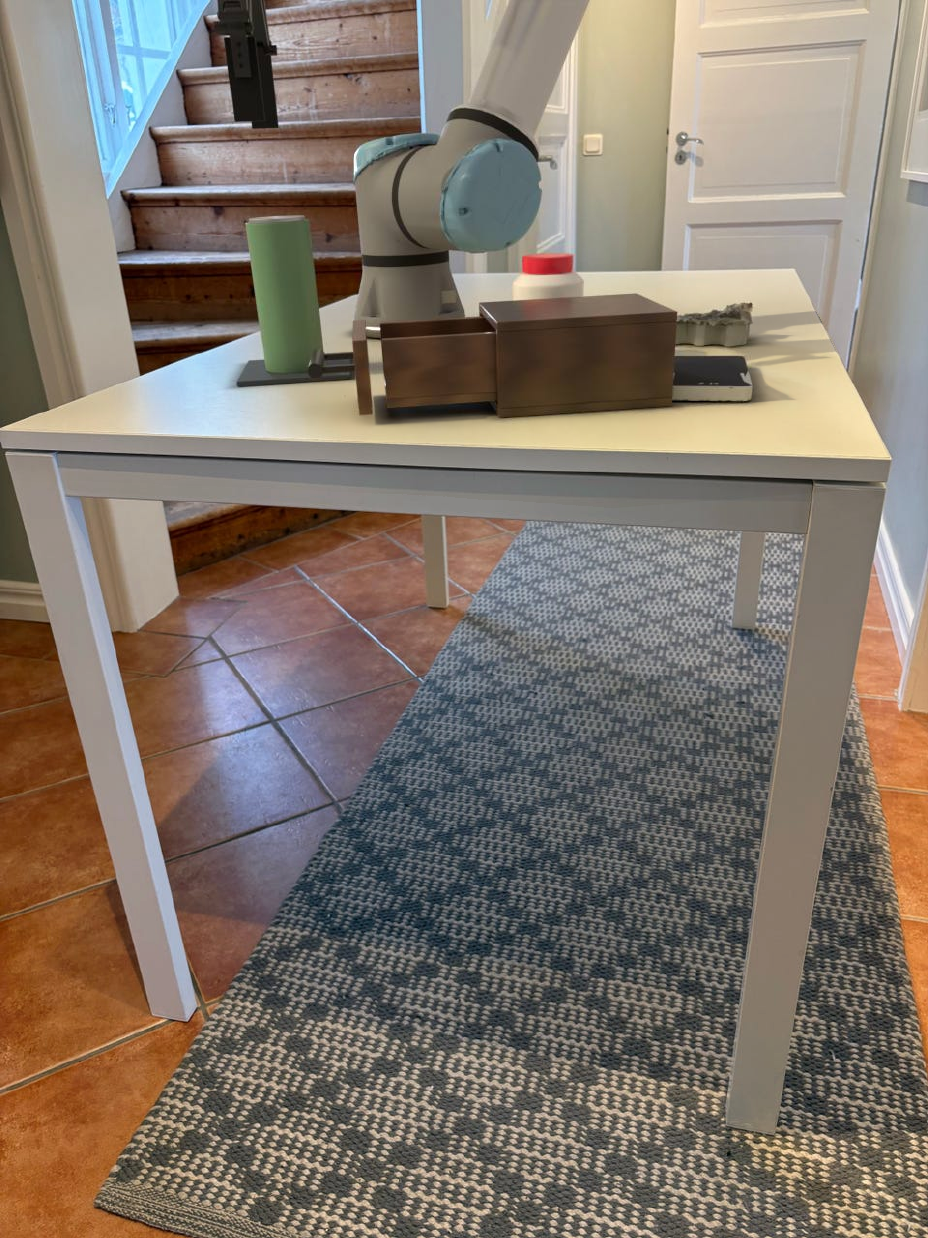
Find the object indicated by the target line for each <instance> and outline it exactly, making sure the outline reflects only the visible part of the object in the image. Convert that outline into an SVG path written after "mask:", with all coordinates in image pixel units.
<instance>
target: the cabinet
mask: <svg viewBox="0 0 928 1238" xmlns="http://www.w3.org/2000/svg"><path fill="white" fill-rule="evenodd" d="M479 316H484V317H485V318H486V319H487V320H488V322H489V323H490V324H491V325H492V326H493V327H494V329H495V330H496V363H497V401H489V403H490V404H491V406H492V408H493V410H494V412H495V413H496V415H497V417H498V418H499V419H502V418H517V417H529V416H544V415H547V416H548V415H560V414H561V415H562V414H575V413H591V412H604V411H619V410H633V409H649V408H650V409H651V408H662V407H664V408H665V407H672V405H673V400H672V391H673V375H674V359H675V356H676V345H677V344H676V328H677V316H678V311H677V310H674V309H672V308H670V307H668V306H665V305H663V304H661V303H659V302H657V301H655V300H652V299H650V298H648V297H646V296H643V295H641V294H639V293H619V294H603V295H602V294H601V295H588V296H587V295H584V296H583V297H566V298H548V299H531V300H514V301H512V300H499V301H484V302H483V301H482V302H478V317H479Z"/></svg>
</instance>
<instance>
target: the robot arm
mask: <svg viewBox="0 0 928 1238" xmlns="http://www.w3.org/2000/svg"><path fill="white" fill-rule="evenodd" d="M590 1H591V0H509V1H508V2H507V4H506V8H505V9H504V13H503V15H502V18H501V20H500V23H499V25H498V27H497V30H496V32H495V34H494V37H493V39H492V42H491V45H490V47H489V50H488V52H487V55H486V57H485V60H484V62H483V65H482V67H481V69H480V72H479V74H478V77H477V79H476V82H475V84H474V87H473V89H472V91H471V93H470V97H469V99H468V102H466V103H462V104H460V105H457V106H455V107H452V109H451V110H450V112H449V114H448V116H447V118H446V121H445V123H444V126H443V127H442V130H441V132H440V135H439V134H437V133H433V132H432V133H431V132H418V133H417V132H415V133H404V134H398V135H394V136H390V137H388V136H386V137H381V138H377V139H373V140H370V141H367V142H365V143H363V144H361V145H360V146H358V148H357V149H356V150H355V152H354V155H353V179H352V180H353V181H352V182H353V185H354V189H355V200H356V201H355V202H356V211H357V212H356V213H357V222H358V233H359V244H360V254H361V255H360V256H361V266H362V267H361V268H362V275H361V279H360V280H361V281H360V285H359V290H358V294H357V299H356V304H355V309H354V314H353V321H355V320H365V321H366V333H367V338H372V339H373V338H374V339H381V336H380V324H379V323H380V322H395V321H412V320H428V319H445V318H462V317H466V313H465V308H464V305H463V302H462V299H461V296H460V294H459V291H458V288H457V285H456V283H455V279H454V277H453V274H452V271H451V267H450V265H451V264H450V251H453V252H454V251H455V252H464V253H469V254H485V253H488V252H490V253H491V252H492V253H493V252H500V251H504V250H506V249H508V248H510V247H512V246H514V245H515V244H517V243H518V242H520V240H521V239H523V237H524V236H525V235H526V234H528V232H529V231H530V229H531V227H532V226H533V224H534V222H535V220H536V218H537V215H538V213H539V210H540V206H541V202H542V195H543V189H542V188H540V185H539V184H540V182H541V181H542V172H541V170H540V166H539V164H538V162H539V159H540V155H541V154H540V149H539V146H538V143H537V141H536V138H535V135H536V132H537V130H538V128H539V125H540V123H541V120H542V118H543V116H544V113H545V110H546V108H547V106H548V104H549V101H550V98H551V96H552V93H553V92H554V89H555V86H556V84H557V81H558V79H559V77H560V74H561V71H562V69H563V67H564V64H565V62H566V59H567V57H568V55H569V52H570V50H571V47H572V45H573V42H574V40H575V37H576V35H577V33H578V30H579V27H580V25H581V24H582V20H583V18H584V16H585V12H586V10H587V9H588V6H589V4H590ZM216 2H217V3H216V4H217V11H216V17H217V19H218V21H217V20H215V21H214V20H213V22H212V23H213V29H214V30H213V31H214V35H215V36H216V37H221V36H223V42H224V43H223V44H224V51H225V58H226V65H227V66H226V67H227V73H228V83H229V90H230V97H231V106H232V113H233V114H232V115H233V121H234V123H243V122H244V123H246V122H247V123H249V122H251V129H253V130H260V129H261V130H263V129H279V128H280V127H279V117H278V107H277V99H276V98H277V97H276V88H275V80H274V79H275V78H274V71H273V63H272V56H273V57H275V56H276V57H277V56H278V46H277V44H272V43H273V42H272V40H271V37H270V30H269V22H268V15H267V9H266V2H265V0H216ZM224 36H225V37H224Z"/></svg>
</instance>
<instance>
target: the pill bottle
mask: <svg viewBox="0 0 928 1238" xmlns="http://www.w3.org/2000/svg"><path fill="white" fill-rule="evenodd" d="M574 257H575V256H574V254H573V253H567V252H546V253H545V252H544V253H533V254H525V255H522V257H521V269H522V270H521V271H522V272H520V273H518V275H517V276H516V277H515V278H514V279H513V281H512V283H511V301H514V300H531V299H548V298H566V297H583V296H585V294H584V292H585V291H584V290H585V289H584V288H585V282H584V281H585V280H584V278H583V277H581V275H580V274H579V273H578V272H577V271H576V270H574V260H575V258H574Z"/></svg>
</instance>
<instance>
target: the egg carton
mask: <svg viewBox="0 0 928 1238" xmlns="http://www.w3.org/2000/svg"><path fill="white" fill-rule="evenodd" d="M753 308H754V307H753V302H740V303H732V304H728V305H727V304H726V306H725V308H724V309H723V310H718V309H712V310H711V311H710V312H705V313H701V312H693V313H684V314H678V315H677V328H676V344H675V345H679V344H689V345H690V344H691V345H694V346H697V347H704V346H707V345H708V346H709V345H721V346H724V347H725V348H727V347H736V346H745V345H746V344H747V341H748V340H749V339H750V330H751V325H753V319H752V312H753V310H754V309H753Z"/></svg>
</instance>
